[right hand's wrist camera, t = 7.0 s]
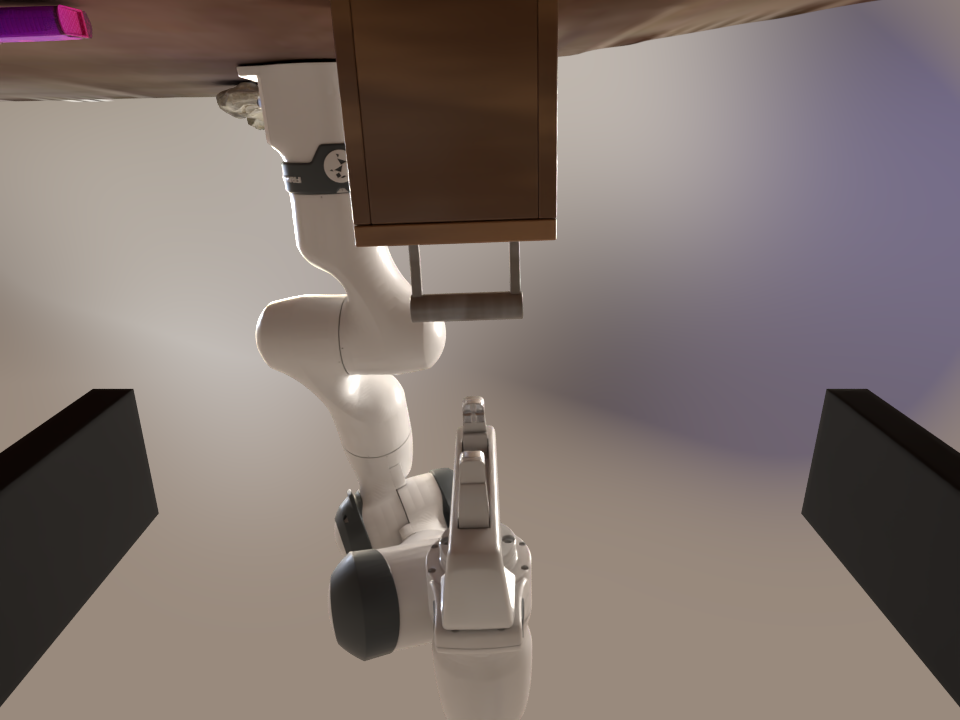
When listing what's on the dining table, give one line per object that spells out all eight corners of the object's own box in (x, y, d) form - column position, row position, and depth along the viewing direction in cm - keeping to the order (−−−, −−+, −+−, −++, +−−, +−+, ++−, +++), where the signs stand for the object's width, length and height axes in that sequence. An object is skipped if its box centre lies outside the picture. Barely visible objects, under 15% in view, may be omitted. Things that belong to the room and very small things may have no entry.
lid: (531, 185, 46) (532, 306, 49) (394, 190, 46) (403, 310, 49) (556, 218, 31) (555, 388, 34) (353, 226, 31) (370, 394, 34)
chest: (531, 7, 41) (532, 186, 45) (377, 13, 41) (392, 191, 45) (558, -49, 27) (556, 217, 31) (325, -40, 27) (352, 225, 31)
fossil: (236, 109, 95) (315, 158, 107) (268, 40, 95) (344, 97, 106) (188, 93, 106) (264, 139, 118) (217, 31, 105) (291, 84, 117)
